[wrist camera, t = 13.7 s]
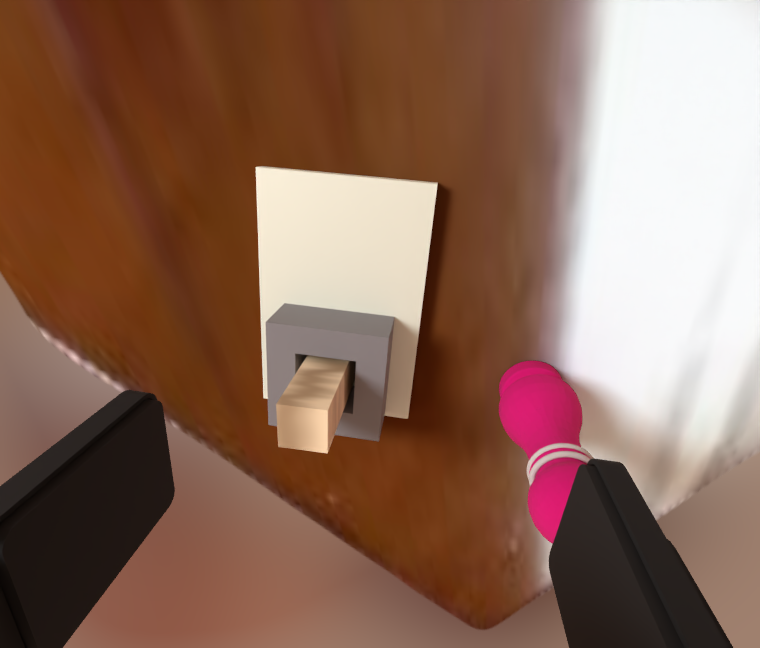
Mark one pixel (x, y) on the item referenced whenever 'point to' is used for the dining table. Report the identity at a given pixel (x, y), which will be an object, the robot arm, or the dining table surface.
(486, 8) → the dining table surface
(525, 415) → the pink bowling pin
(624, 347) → the dining table surface
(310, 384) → the square wooden peg
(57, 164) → the dining table surface
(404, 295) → the board
